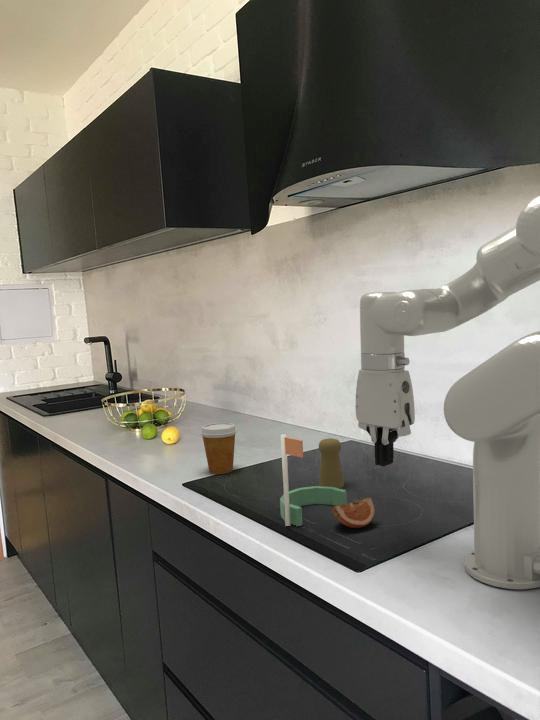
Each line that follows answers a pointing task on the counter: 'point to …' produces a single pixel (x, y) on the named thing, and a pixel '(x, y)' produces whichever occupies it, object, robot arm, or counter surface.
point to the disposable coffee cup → (219, 446)
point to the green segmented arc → (305, 495)
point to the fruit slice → (355, 513)
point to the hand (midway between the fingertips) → (384, 463)
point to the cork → (330, 464)
